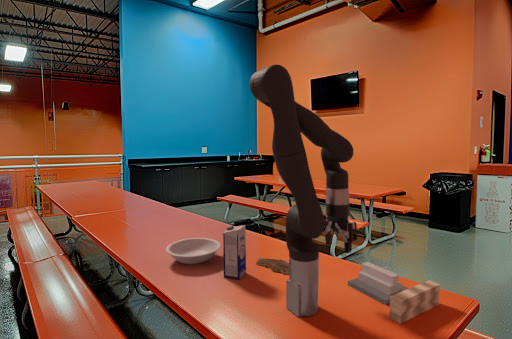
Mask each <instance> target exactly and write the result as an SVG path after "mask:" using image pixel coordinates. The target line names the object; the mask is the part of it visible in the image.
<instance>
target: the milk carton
mask: <svg viewBox="0 0 512 339" xmlns="http://www.w3.org/2000/svg"><path fill="white" fill-rule="evenodd" d="M246 232H247V231H246V224H244V225H243V224H242V225H238V226H234V225H230V226H227V227H226V230H225V231H223V232H222V252H223V253H222V256H223V278H225V279H231V280H238V281H240V280H241V279H242V278H243V277H244V276H245V275H246V273H247V253H246V252H247V250H246V249H247V247H246V241H247V240H246V236H247V235H246Z"/></svg>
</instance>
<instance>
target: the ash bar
mask: <svg viewBox="0 0 512 339" xmlns="http://www.w3.org/2000/svg"><path fill="white" fill-rule="evenodd" d="M408 288H409V289H406V290H404V291H402V292H399V293H397V294H394V295H392V296H390V303H389V317H388V318H389V319H390V320H392V321H394V322H396V323H398V324H403V323H405V322H407V321H409V320H411V319H412V318H415V317H417V316H419V315H421V314H423V313H424V312H425V313H426V312H427V311H429V310H431V309H433V308H435V307H437V306H439V305H440V294H441V293H440V289H441V284H440V283H437V282H435V281H432V280H430V279H429V280H426V281H424V282H421V283H419V284H417V285H414V286H412V287H408Z"/></svg>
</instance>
